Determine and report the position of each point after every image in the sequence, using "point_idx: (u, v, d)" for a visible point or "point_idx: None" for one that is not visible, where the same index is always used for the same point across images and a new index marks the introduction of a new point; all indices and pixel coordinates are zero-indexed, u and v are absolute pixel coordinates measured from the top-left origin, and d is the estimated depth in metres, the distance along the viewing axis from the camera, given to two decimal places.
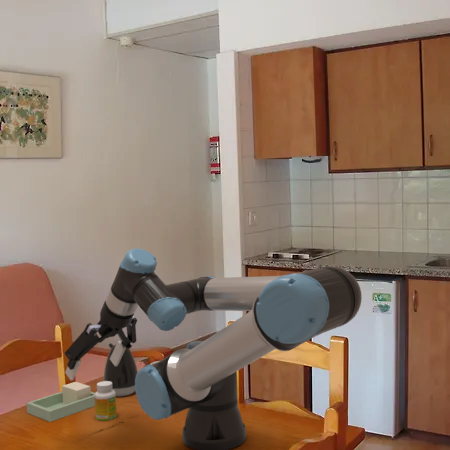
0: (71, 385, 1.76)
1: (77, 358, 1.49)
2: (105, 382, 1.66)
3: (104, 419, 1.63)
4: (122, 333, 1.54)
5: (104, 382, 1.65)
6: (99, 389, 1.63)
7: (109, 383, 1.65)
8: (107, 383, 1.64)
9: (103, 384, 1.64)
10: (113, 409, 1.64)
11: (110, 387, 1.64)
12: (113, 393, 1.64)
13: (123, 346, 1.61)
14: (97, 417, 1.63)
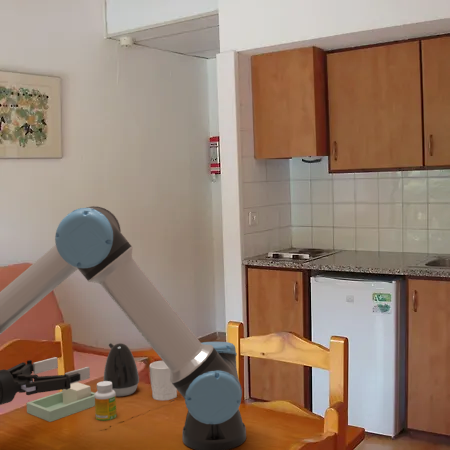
0: (71, 385, 1.76)
1: (64, 376, 1.46)
2: (105, 382, 1.66)
3: (104, 419, 1.63)
4: (17, 371, 1.49)
5: (104, 382, 1.65)
6: (99, 389, 1.63)
7: (109, 383, 1.65)
8: (107, 383, 1.64)
9: (103, 384, 1.64)
10: (113, 409, 1.64)
11: (110, 387, 1.64)
12: (113, 393, 1.64)
13: (33, 365, 1.57)
14: (97, 417, 1.63)
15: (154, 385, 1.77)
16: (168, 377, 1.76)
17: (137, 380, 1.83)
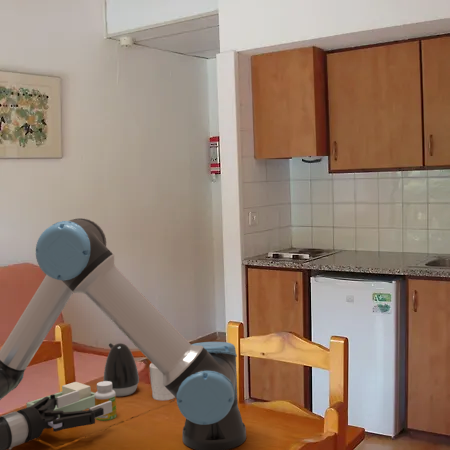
0: (71, 385, 1.76)
1: (88, 411, 1.52)
2: (105, 382, 1.66)
3: (104, 419, 1.63)
4: (43, 406, 1.55)
5: (104, 382, 1.65)
6: (99, 389, 1.63)
7: (109, 383, 1.65)
8: (107, 383, 1.64)
9: (103, 384, 1.64)
10: (113, 409, 1.64)
11: (110, 387, 1.64)
12: (113, 393, 1.64)
13: (57, 399, 1.63)
14: (97, 417, 1.63)
15: (154, 385, 1.77)
16: None
17: (137, 380, 1.83)
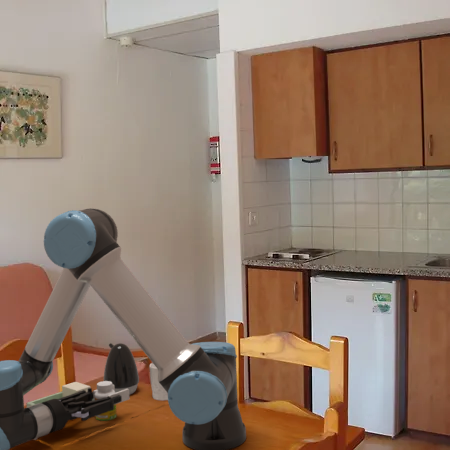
0: (71, 385, 1.76)
1: (108, 398, 1.60)
2: (105, 382, 1.66)
3: (104, 419, 1.63)
4: (70, 399, 1.59)
5: (104, 382, 1.65)
6: (99, 389, 1.63)
7: (109, 383, 1.64)
8: (107, 383, 1.64)
9: (103, 384, 1.64)
10: (113, 409, 1.64)
11: (110, 387, 1.64)
12: None
13: (93, 393, 1.66)
14: (97, 417, 1.63)
15: (154, 385, 1.77)
16: None
17: (137, 380, 1.83)
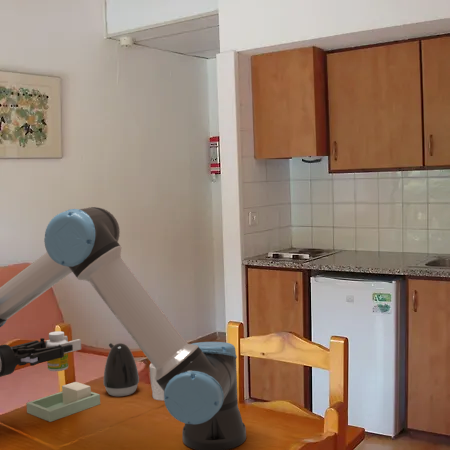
0: (71, 385, 1.76)
1: (58, 346, 1.64)
2: (57, 332, 1.70)
3: (55, 367, 1.66)
4: (21, 346, 1.63)
5: (56, 332, 1.69)
6: (51, 338, 1.67)
7: (61, 333, 1.68)
8: (59, 333, 1.68)
9: (55, 333, 1.68)
10: (64, 358, 1.68)
11: (62, 336, 1.68)
12: (64, 342, 1.68)
13: (46, 343, 1.70)
14: (48, 365, 1.67)
15: (154, 385, 1.77)
16: None
17: (137, 380, 1.83)
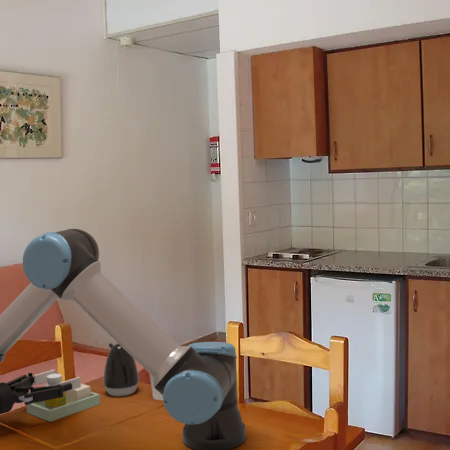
0: None
1: (57, 386, 1.63)
2: (55, 374, 1.71)
3: None
4: (16, 383, 1.65)
5: (54, 374, 1.71)
6: (48, 381, 1.68)
7: (59, 375, 1.70)
8: (57, 376, 1.70)
9: (53, 376, 1.69)
10: (62, 400, 1.69)
11: (59, 379, 1.69)
12: None
13: (34, 377, 1.72)
14: None
15: None
16: None
17: (137, 380, 1.83)
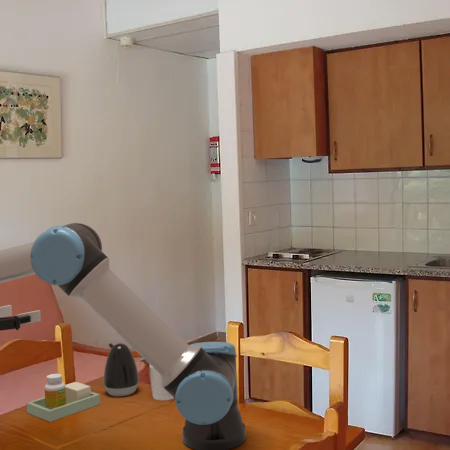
0: (71, 385, 1.76)
1: (14, 317, 1.52)
2: (55, 374, 1.71)
3: None
4: None
5: (54, 374, 1.71)
6: (48, 381, 1.68)
7: (59, 375, 1.70)
8: (57, 376, 1.70)
9: (53, 376, 1.69)
10: (62, 400, 1.69)
11: (59, 379, 1.69)
12: (62, 385, 1.69)
13: None
14: None
15: (154, 385, 1.77)
16: None
17: (137, 380, 1.83)
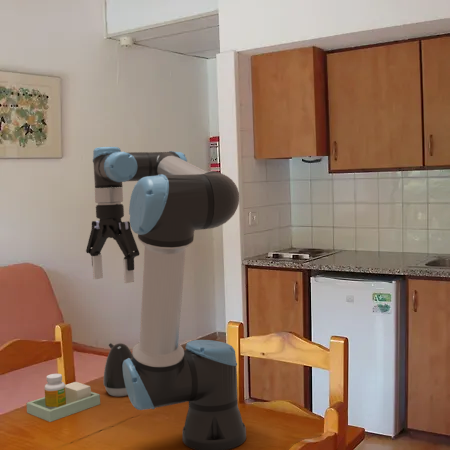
0: (71, 385, 1.76)
1: (90, 252, 1.79)
2: (55, 374, 1.71)
3: None
4: (113, 234, 1.71)
5: (54, 374, 1.71)
6: (48, 381, 1.68)
7: (59, 375, 1.70)
8: (57, 376, 1.70)
9: (53, 376, 1.69)
10: (62, 400, 1.69)
11: (59, 379, 1.69)
12: (62, 385, 1.69)
13: None
14: None
15: None
16: None
17: None
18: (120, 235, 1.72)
